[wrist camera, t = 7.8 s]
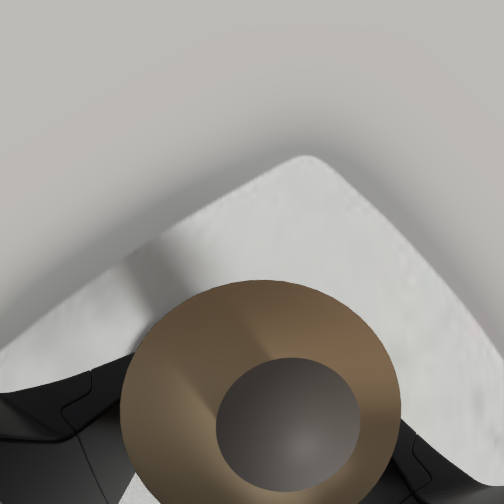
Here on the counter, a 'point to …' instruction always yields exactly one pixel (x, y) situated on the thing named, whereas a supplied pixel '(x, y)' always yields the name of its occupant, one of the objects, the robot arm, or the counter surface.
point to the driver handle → (260, 400)
